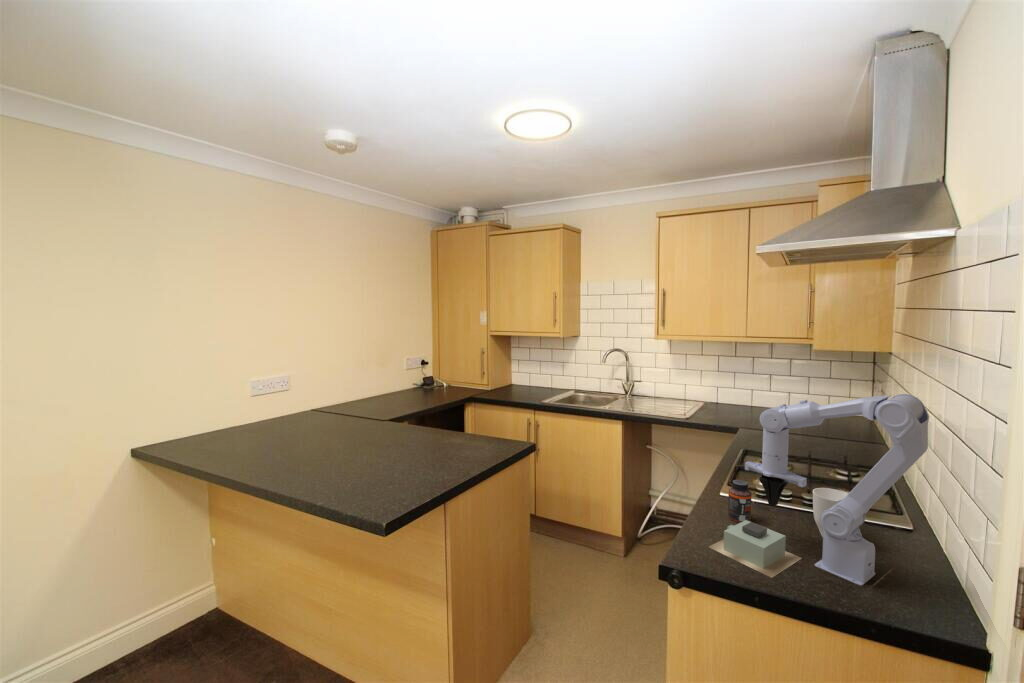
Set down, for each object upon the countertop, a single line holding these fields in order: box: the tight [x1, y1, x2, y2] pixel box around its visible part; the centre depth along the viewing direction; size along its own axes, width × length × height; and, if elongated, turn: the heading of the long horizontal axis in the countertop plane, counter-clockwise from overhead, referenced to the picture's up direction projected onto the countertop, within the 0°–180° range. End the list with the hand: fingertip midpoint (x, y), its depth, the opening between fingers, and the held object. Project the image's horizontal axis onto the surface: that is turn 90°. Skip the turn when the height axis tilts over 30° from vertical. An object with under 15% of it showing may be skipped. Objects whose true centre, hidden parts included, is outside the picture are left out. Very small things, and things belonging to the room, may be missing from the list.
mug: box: [812, 487, 849, 538], centre depth 120 cm, size 12×9×12 cm
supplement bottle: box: [727, 479, 752, 524], centre depth 130 cm, size 6×6×11 cm
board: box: [708, 538, 803, 579], centre depth 113 cm, size 16×14×1 cm
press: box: [723, 520, 787, 568], centre depth 113 cm, size 12×10×5 cm
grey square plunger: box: [742, 521, 768, 538], centre depth 113 cm, size 4×4×6 cm
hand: (773, 504), depth 117 cm, fingers closed
